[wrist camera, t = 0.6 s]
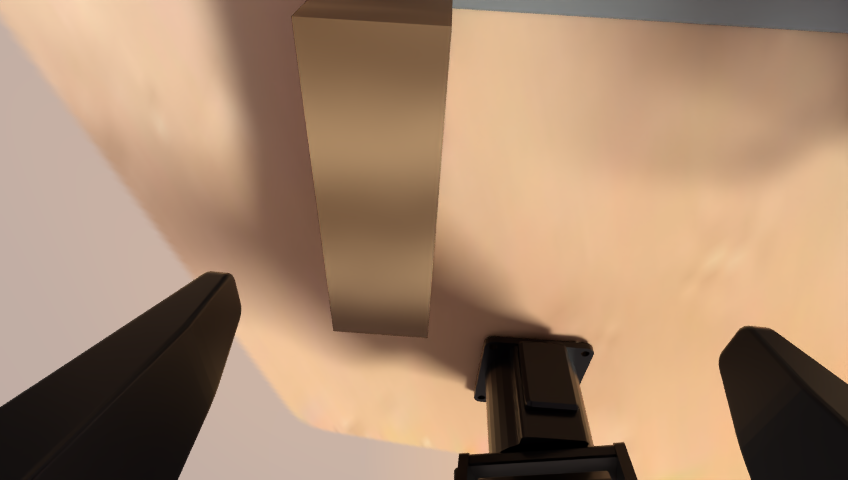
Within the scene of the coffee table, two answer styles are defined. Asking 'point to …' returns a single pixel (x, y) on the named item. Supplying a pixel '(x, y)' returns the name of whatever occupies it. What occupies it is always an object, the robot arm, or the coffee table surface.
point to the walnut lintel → (376, 152)
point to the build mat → (689, 11)
